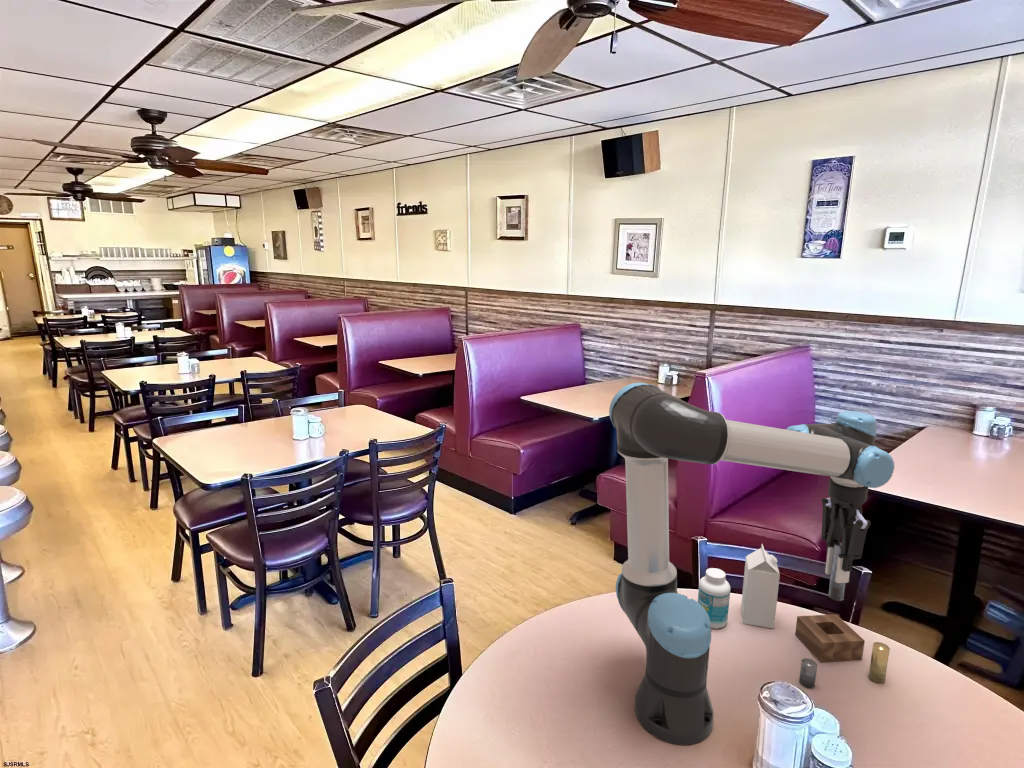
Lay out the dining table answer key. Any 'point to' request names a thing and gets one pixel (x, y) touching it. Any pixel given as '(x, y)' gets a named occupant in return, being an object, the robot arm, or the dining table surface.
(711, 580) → the pill bottle
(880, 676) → the medium brass pin
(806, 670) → the short gunmetal pin
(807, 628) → the walnut hole block
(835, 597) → the long steel pin
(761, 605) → the milk carton
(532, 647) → the dining table surface
